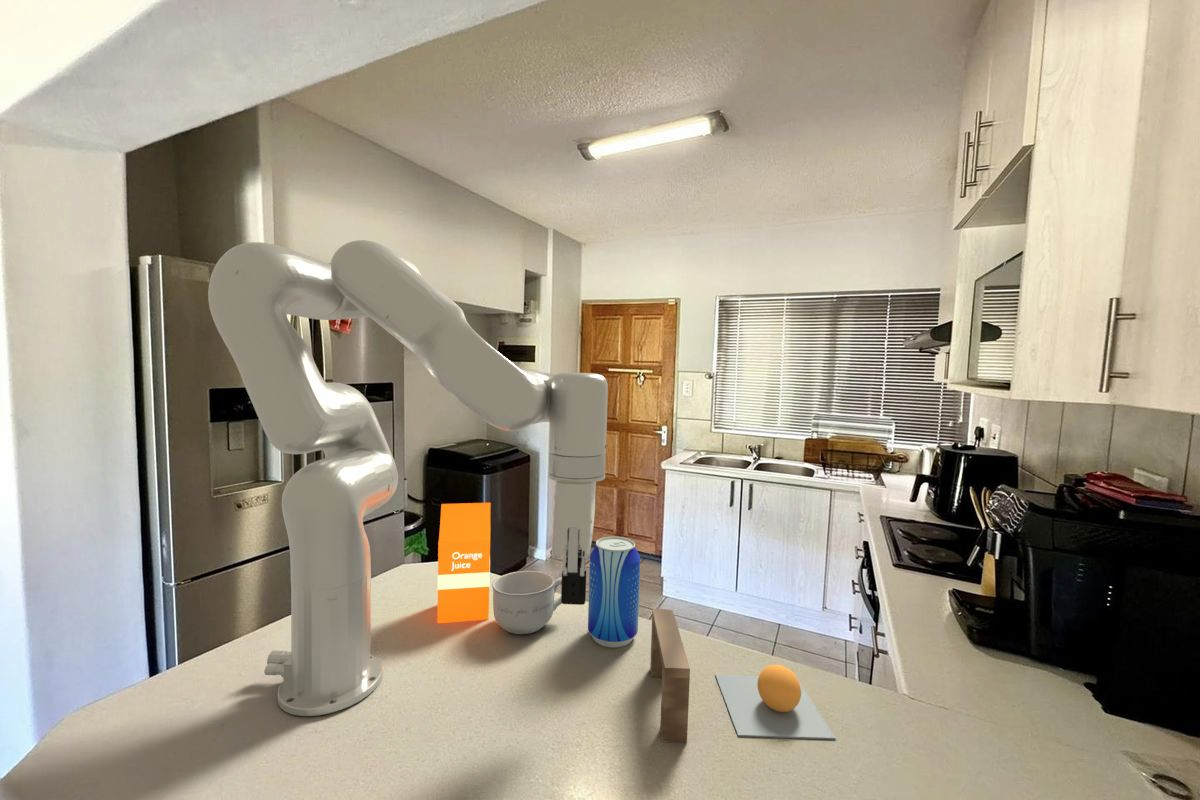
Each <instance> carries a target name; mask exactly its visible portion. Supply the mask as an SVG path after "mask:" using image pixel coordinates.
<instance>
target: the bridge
mask: <svg viewBox="0 0 1200 800" xmlns="http://www.w3.org/2000/svg"><path fill="white" fill-rule="evenodd" d="M651 614H652V615H651V636H650V637H651V638H650V640H651V641H650V674H651V675H650V676H651V678H661V695H660V696H661V697H660V698H661V701H660V703H661V704H660V725H659V728H660V729H659V730H660V735H661V737H662V738H661V742H662V741H667V742H666V743H672V742H671V741H674V742H673V743H688V730H689V729H688V726H689V704H690V699H689V698H690V682H691V678H690V676H691V668H690V664H689V660H688V657H687V654H686V651H685V647H684V643H683V640H682V635H681V634H680V631H679V627H678V623H677V620H676V617H675V614H674V610H673V609H668V608H667V609H663V608H653V609H652V611H651Z"/></svg>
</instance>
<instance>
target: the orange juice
mask: <svg viewBox="0 0 1200 800" xmlns="http://www.w3.org/2000/svg"><path fill="white" fill-rule="evenodd" d="M491 504H492V503H491V502H472V503H471V502H467V503H465V502H464V503H441V507H440V519H439V520H440V521H439V523H440V524H439V534H438V535H439V536H438V543H437V545H438V548H437V550H438V551H437V552H438V553H437V557H438V559H437V624H448V623H458V622H459V623H461V622H470V621H471V622H472V621H484V620H485V621H486V619H487V620H489V619H490V615H489V614H490V582H491V581H490V578H491V576H490V575H491Z"/></svg>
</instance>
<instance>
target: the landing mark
mask: <svg viewBox="0 0 1200 800" xmlns="http://www.w3.org/2000/svg"><path fill="white" fill-rule="evenodd" d="M758 677H759V675H746V674H744V675H743V674H741V675H740V674H715V678H716V681H717V684H718V686H719V689H720V693H721V694H722V697H723V700H724V702H725V705H726V708H727V710H728V714H729V717H730V718H731V721H732V723H733V727H734V729H735V731H736V735H737V737H741V738H742V737H746V738H748V737H750V738H753V737H754V738H773V739H774V738H777V739H779V738H781V739H809V740H810V739H811V740H837V739H836V736H835V735H834V733H833V732H832V730H831V729H830V727H829V726H828V724H827V722H826V721H825V719H824V718H823V716H822V714H821V713H820V712H819V710H818V709H817V707H816V705H815V704H814V702H813V701H812V699H811V697H810V695H809V693H807V691H806V690H805V688H804V686H803V684H801V681H800V680H799V678H798V677H797V679H798V681H799V683H800V687H801V698H800V701H799V703H798V705H797V706H796V707H795V708H794V709H793V710H791V711H788V712H778V711H775V710H773V709H771V708H770V707H768V706H767V705H766V704H765V703H764V701H763V700H762V698H761V697H760V694H759V691H758V686H757V683H758Z"/></svg>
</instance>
